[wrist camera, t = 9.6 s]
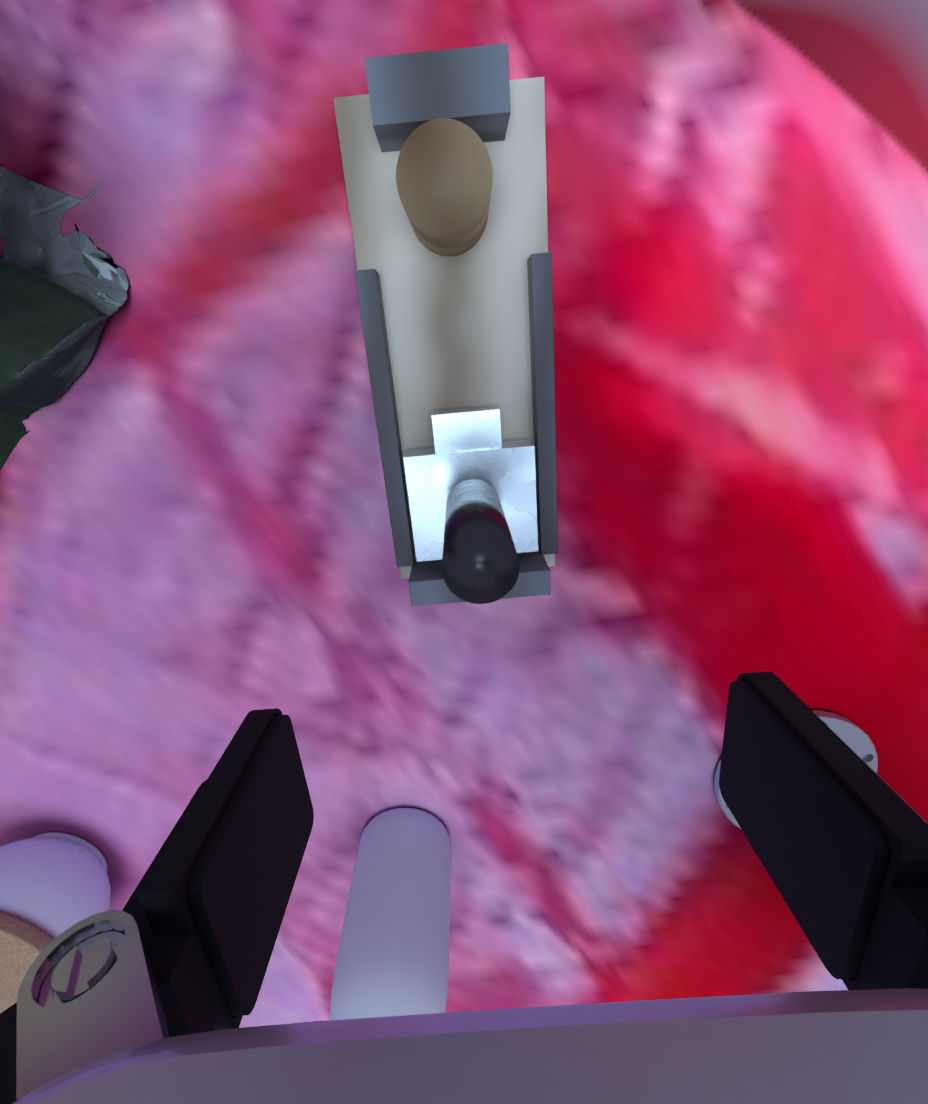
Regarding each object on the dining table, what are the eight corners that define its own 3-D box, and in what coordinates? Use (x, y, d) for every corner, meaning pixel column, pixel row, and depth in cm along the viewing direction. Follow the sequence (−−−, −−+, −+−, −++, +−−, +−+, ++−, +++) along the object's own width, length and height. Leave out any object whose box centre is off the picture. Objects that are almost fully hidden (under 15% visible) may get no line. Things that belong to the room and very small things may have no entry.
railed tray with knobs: (537, 97, 26) (560, 23, 20) (549, 555, 34) (568, 592, 29) (342, 116, 26) (310, 48, 20) (404, 567, 35) (394, 607, 29)
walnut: (475, 150, 25) (476, 102, 20) (497, 241, 26) (503, 215, 21) (398, 180, 25) (382, 139, 20) (424, 267, 26) (414, 247, 22)
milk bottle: (352, 809, 42) (271, 1164, 24) (444, 799, 42) (434, 1150, 23) (370, 873, 45) (309, 1238, 26) (456, 864, 45) (456, 1226, 26)
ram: (525, 402, 29) (570, 428, 18) (531, 535, 31) (572, 629, 20) (403, 413, 29) (371, 446, 18) (419, 544, 32) (400, 643, 21)
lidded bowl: (-12, 792, 41) (-169, 936, 31) (147, 826, 43) (48, 975, 32) (-12, 895, 45) (-151, 1052, 35) (132, 923, 47) (41, 1081, 36)
